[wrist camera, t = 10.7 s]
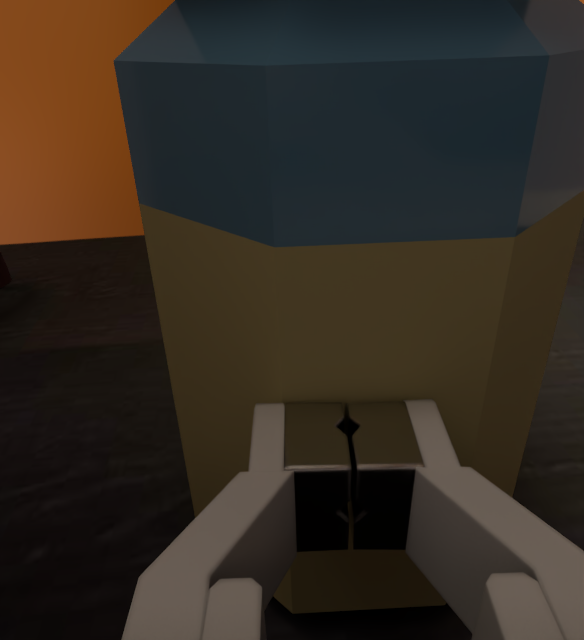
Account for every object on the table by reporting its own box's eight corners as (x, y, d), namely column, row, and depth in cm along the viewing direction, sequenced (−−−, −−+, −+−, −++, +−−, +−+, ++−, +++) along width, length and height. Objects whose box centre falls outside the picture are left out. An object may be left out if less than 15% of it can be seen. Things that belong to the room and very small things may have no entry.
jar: (265, 378, 21) (233, -84, 14) (506, 425, 18) (630, -127, 11) (130, 574, 14) (-96, -201, 6) (500, 705, 11) (875, -430, 3)
